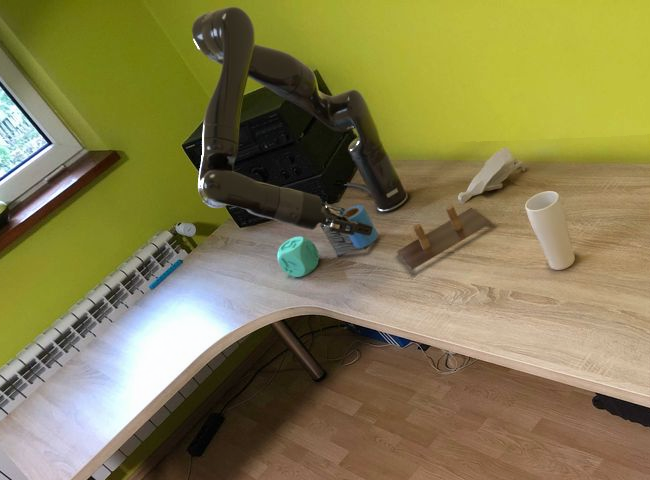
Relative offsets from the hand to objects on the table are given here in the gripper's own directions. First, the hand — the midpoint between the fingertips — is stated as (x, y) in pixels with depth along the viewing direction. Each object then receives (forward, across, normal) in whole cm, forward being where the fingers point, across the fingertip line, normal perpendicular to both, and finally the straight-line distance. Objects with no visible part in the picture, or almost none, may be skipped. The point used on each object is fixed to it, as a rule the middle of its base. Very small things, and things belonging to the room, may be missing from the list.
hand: (367, 226), depth 147 cm
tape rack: (+20, 0, -1) cm, 20 cm away
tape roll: (+1, 0, +3) cm, 3 cm away
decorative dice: (-3, +28, +23) cm, 36 cm away
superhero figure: (+34, +12, -15) cm, 39 cm away
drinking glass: (+30, -33, -10) cm, 46 cm away
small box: (+8, +22, +12) cm, 26 cm away
